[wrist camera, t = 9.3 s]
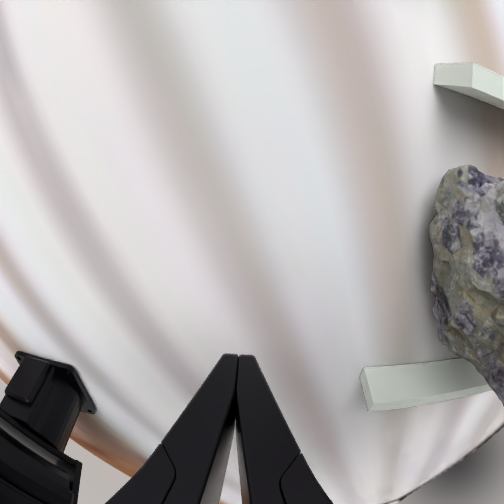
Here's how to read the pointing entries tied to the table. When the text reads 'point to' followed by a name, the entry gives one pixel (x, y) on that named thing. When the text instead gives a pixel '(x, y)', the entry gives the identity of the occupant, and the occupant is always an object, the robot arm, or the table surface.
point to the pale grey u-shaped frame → (446, 371)
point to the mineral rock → (470, 270)
